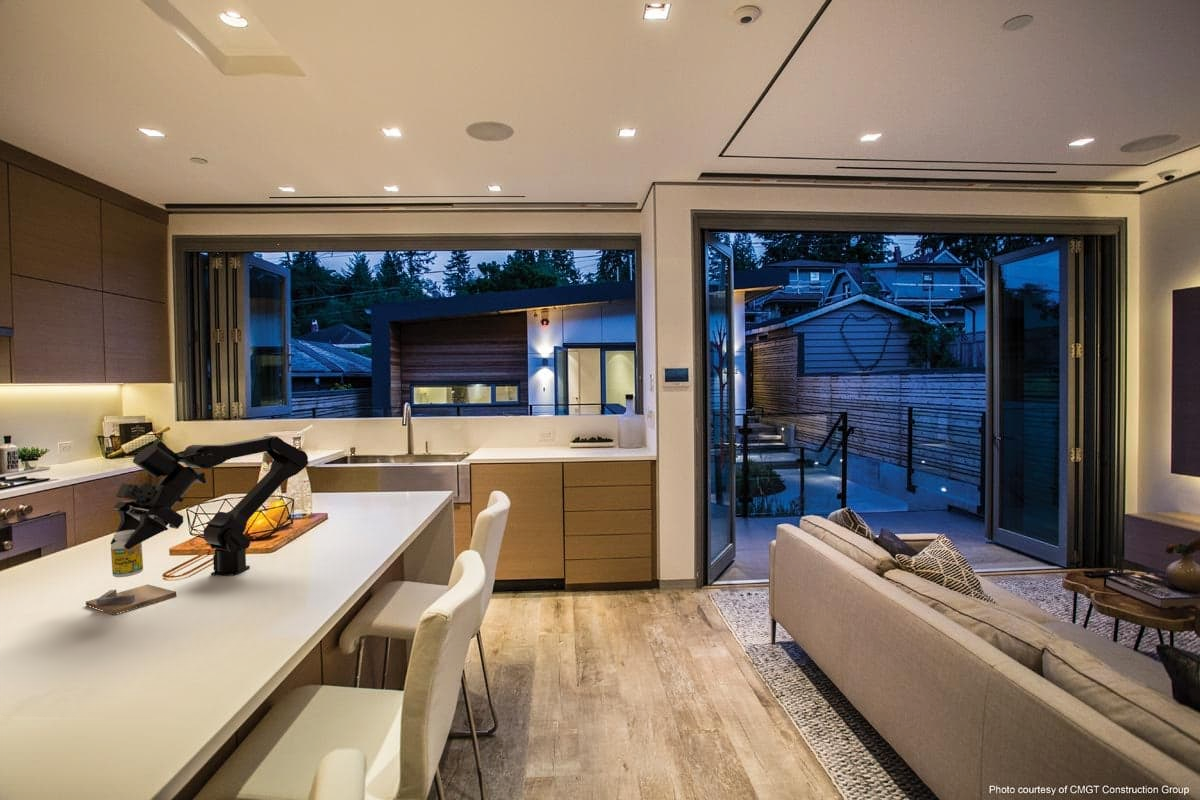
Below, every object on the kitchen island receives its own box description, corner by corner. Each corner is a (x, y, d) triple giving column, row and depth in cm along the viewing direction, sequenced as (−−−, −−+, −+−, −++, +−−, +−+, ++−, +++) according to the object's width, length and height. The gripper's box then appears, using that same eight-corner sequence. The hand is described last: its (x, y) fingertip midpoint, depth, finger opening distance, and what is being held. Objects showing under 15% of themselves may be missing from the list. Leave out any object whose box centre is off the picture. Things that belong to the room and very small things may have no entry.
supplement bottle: (144, 568, 131) (142, 527, 131) (141, 574, 127) (139, 532, 126) (114, 572, 128) (112, 531, 128) (110, 579, 124) (108, 536, 123)
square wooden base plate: (148, 588, 136) (147, 578, 136) (176, 595, 131) (176, 585, 131) (84, 606, 125) (83, 595, 125) (112, 615, 120) (111, 604, 120)
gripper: (121, 466, 134) (64, 523, 125) (165, 471, 126) (108, 532, 117) (160, 492, 142) (109, 548, 132) (204, 498, 133) (154, 558, 124)
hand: (119, 546), depth 126 cm, fingers closed on supplement bottle, 5 cm apart
